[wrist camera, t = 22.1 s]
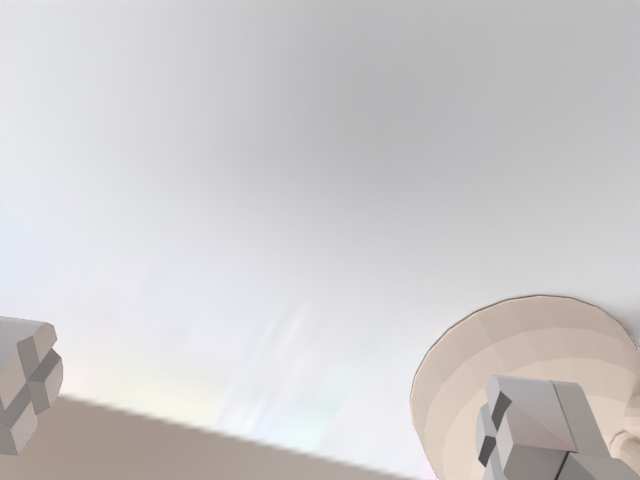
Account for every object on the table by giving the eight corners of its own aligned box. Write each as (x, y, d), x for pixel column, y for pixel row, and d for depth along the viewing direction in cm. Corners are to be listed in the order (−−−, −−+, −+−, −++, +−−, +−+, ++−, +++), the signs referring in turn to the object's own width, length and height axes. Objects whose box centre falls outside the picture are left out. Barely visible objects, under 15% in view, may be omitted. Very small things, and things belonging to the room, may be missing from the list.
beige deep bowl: (687, 385, 51) (871, 577, 34) (505, 511, 57) (587, 727, 40) (547, 243, 45) (688, 392, 28) (360, 400, 51) (386, 600, 34)
